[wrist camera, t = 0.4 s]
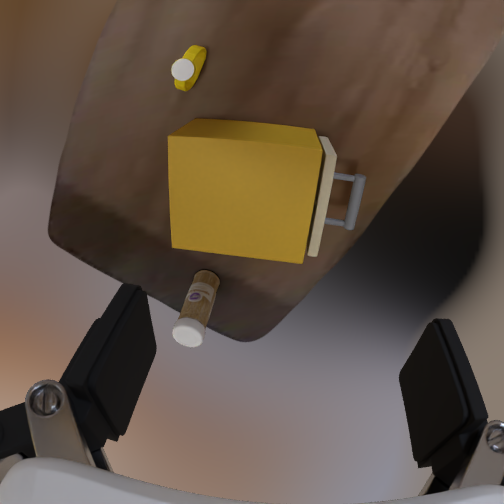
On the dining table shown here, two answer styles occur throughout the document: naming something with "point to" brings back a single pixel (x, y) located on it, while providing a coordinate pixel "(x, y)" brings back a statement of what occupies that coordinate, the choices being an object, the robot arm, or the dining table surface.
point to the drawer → (324, 193)
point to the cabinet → (243, 188)
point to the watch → (188, 67)
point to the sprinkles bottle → (196, 309)
